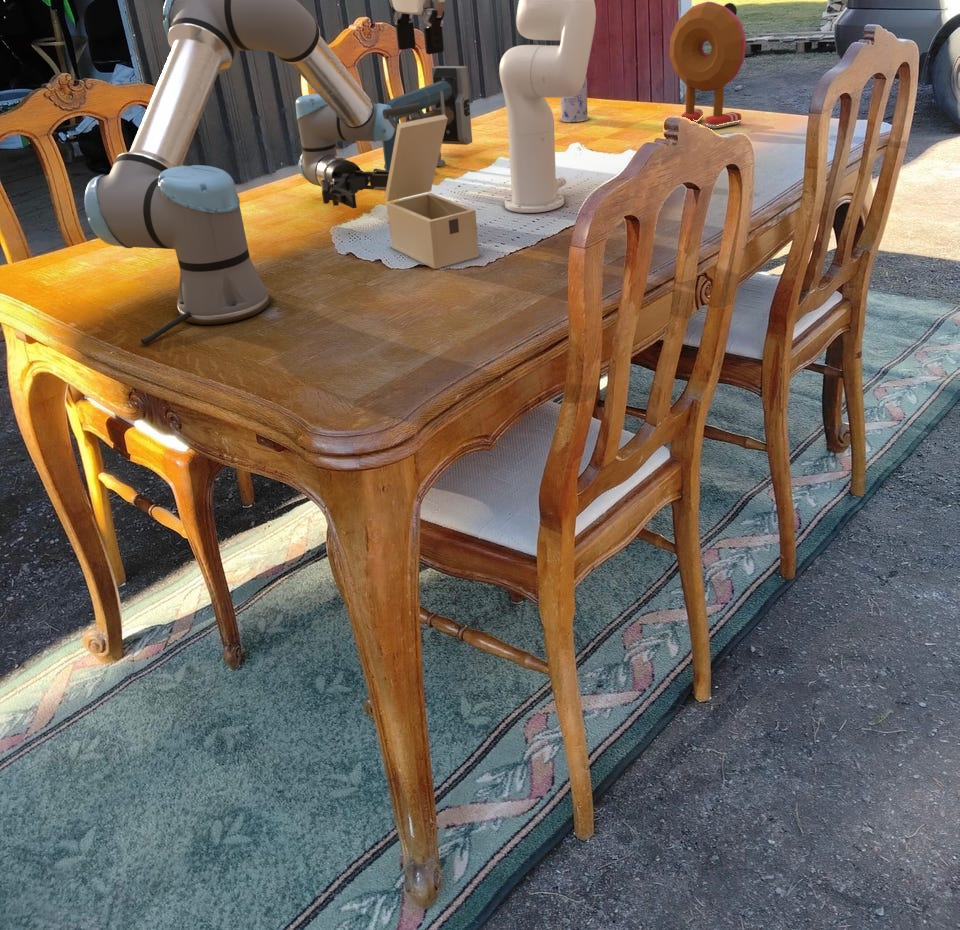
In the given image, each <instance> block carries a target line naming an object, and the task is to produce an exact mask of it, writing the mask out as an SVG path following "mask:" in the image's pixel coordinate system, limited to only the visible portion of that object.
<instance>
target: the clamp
mask: <svg viewBox="0 0 960 930" xmlns="http://www.w3.org/2000/svg"><path fill="white" fill-rule="evenodd" d="M431 76H432V83H431V84H428V85H425V86H423V87H420V88H418V89H414V90H413V91H410V92H407V93H405V94H401V95H398V96H396V97H394V98H391V99H389V100H388V101H387V102H385V104H386V105H389V106H390V107H391V108H395V107H400V106H405V105H410V104H416V103H420V104H421V107H422V110H425V112H424V114H425V115H426V117H427V118H429V117H434V116H439V115H445V116H446V117H447V124H446V128H445V132H444V137H443V141H442V145H463V146H468V145H470V144H472V143H473V132H472V131H473V130H472V119H471V107H470V105H471V104H470V93H469V91H470V90H469V79H468V67H467V65H436V66H433V67H431ZM430 108H431V109H430ZM410 116H411V115H406V116H401V117H396V118H395V122H396V123H397V124H399V123H400V119H402V118H405V122H409V121H414V120H419V119H422V118H421V117H420V115H419V114H418V115H417V116H415V117H413V118H412V117H411V118H410ZM395 137H396V130H394V134H393V136H392V137H391V139H389V140H387V141H381V143H382V144H381V145H382V150H383V151H382V152H383V160H384V166H383V168H384V170H388V171H390V165H391V159H392V154H393V148H394V143H395ZM441 152H442V151H441V150H440V154H439V158H438V163H437V167H442V166H444V165H446V163H447V162H446V160H444V159H442V153H441ZM374 189H375V190H386V187H375V188H374ZM374 189H373V190H374Z"/></svg>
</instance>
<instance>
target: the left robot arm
mask: <svg viewBox="0 0 960 930" xmlns="http://www.w3.org/2000/svg"><path fill="white" fill-rule="evenodd" d="M162 15H163V16H164V18H165V19H164V20H163V21H162V24H163V28H164V32H165V35H166V37H167V42H168V45H169V47H170V49H171V50H170V52H169V54H168V56H167V59H166V62H165V64H164V66H163V69H162V71H161V74H160V77H159V78H158V81H157V83H156V86H155V88H154V91H153V93H152V96H151V98H150V101H149V102H148V105H147V108H146V111H145V113H144V115H143V118H142V120H141V123H140V125H139V127H138V130H137V132H136V135H135V137H134V140H133V141H132V145H131V147H130V150H129V151H126V152H122V153H120V154H119V155H117V156H116V158H115V160H114V162H113V164H112V167H111V170H110V171H109V174H99V175H98V176H95V177H93V178H92V179H90V181H89V182H88V183H87V186H86V187H85V188H86V189H85V192H84V209H85V214H86V216H87V222H88V224H89V226H90V228H91V230H92V232H93V233H94V234H95V236H97V237H98V239H100V240H101V241H102V242H104V243H105V244H107V245H110V246H113V247H122V248H124V249H133V248H143V249H161V250H175V254H176V258H177V262H178V266H179V283H178V294H177V310H178V314H179V316H178V317H175V318H174V319H172V320H171V321H170V322H167V323H166V324H165V325H163V326H162V327H160V328H159V329H157V330H156V331H154V332H152V333H151V334H149V335H147V336H146V337H143V338H141V339H140V343H141V344H142V345H143V346H145V345H146V344H149V343H150V342H153V341H154V340H156V339H157V338H159V337H160V336H162V335H164V334H165V333H166V332H168V331H170V330H171V329H173V328H174V327H176V326H178V325H179V324H181V323H183V322H186V323H189V324H193V325H202V326H203V325H204V326H205V325H206V326H210V325H222V324H230V323H233V322H239V321H241V320H245V319H248V318H251V317H253V316H256V315H258V314H260V312H263V311H264V310H265V309H266V308H267V307H268V306H269V305H270V296H269V291H268V289H267V287H266V284H265V283H264V282H263V280H262V278H261V276H260V274H259V271H258V270H257V269H256V267H255V265H254V264H253V262H252V260H251V257H250V251H249V246H248V241H247V240H248V239H247V236H246V231H245V226H244V225H245V224H244V220H243V216H242V211H241V206H240V203H241V201H240V200H241V199H240V196H239V194H238V193H237V188H236V184H235V181H234V179H233V178H232V176H231V174H230V173H228V172H227V171H225V170H224V169H221V168H218V167H216V166H215V167H214V166H210V165H200V164H192V165H184V162H185V159H186V157H187V154H188V151H189V149H190V146H191V144H192V141H193V139H194V136H195V133H196V132H197V128H198V126H199V123H200V121H201V118H202V115H203V113H204V110H205V108H206V105H207V103H208V100H209V97H210V96H211V92H212V90H213V87H214V84H215V82H216V80H217V78H218V77H217V76H218V74H221V73H224V72H226V71H227V70H229V69H230V67H231V66H232V64H233V61H234V59H235V55H236V53H237V52H239V51H240V52H241V51H265V52H270V53H273V54H274V55H275V56H276V57H277V58H278V59H279V60H280V61H282V62H283V63H287V64H291V65H292V67H294V69H295V70H296V71H297V72H298V74H300V75H301V77H302V78H303V79H304V80H305V81H306V83H308V84H309V86H310V87H311V88H312V89H313V90H314V92H316V93H311V94H310V93H309V94H305V95H301V96H298V97H297V99H296V100H295V113H296V121H297V126H298V132H299V138H300V144H301V155H300V156H299V159H298V163H297V167H298V171H299V173H300V176H302V178H304V179H305V180H306V181H307V182H309V183H310V184H312V185H313V186H318V187H320V188H321V196H322V202H323V204H324V205H327V204H329V203H330V201H332V206H333V207H338V206H340V204H343V205H344V206H347V207H349V208H351V209H357V208H358V206H357V200H356V199H357V198H356V194H357V193H358V192H359V191H364V190H374V188H375V187H387V182H388V176H389V171H388V170H386V169H380V168H374V169H373V170H372V171H363V170H362V169H361V168H360V167H359V165H358V164H356V163H355V162H353V161H351V160H348V159H346V158H343V157H340V156H338V154H337V144H336V142H373V143H376V142H382V141H387V140H389V139H391V137H392V136H393V134H394V130H395V129H394V128H393V126H392V125H391V123H390V122H389V120H388V119H384V117H383V110H384V109H389V108H391V107H390V106H389V105H386V103H380V102H379V103H374V102H373V101H372V99H371V98H370V97H369V96H368V94H367V93H366V92H365V91H364V89H363V88H362V87H361V85H360V84H359V83H358V81H357V80H356V79H355V78H354V76H353V75H352V74H351V73H350V71H349V70H348V69H347V67H346V66H345V65H344V64H343V62H342V61H341V60H340V59H339V57H338V56H337V55H336V54H335V52H334V51H333V49H331V48H330V46H329V45H328V43H327V42H326V41H325V40H324V38H323V37H322V36H321V28H320V25H319V24H318V22H317V21H316V19H315V18H314V17H313V16H312V14H311V13H310V12H309V11H308V10H307V9H306V8H305V7H304V6H303V5H302V4H301V3H300V2H299V1H297V0H165V1H164V5H163V10H162ZM393 119H394V120H395V118H393Z"/></svg>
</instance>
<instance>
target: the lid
mask: <svg viewBox="0 0 960 930" xmlns="http://www.w3.org/2000/svg"><path fill="white" fill-rule="evenodd" d="M424 113H425V112H424V111H423V109H422V107H421V104H420V103H416V104H410V105H405V106H400V107H395V108H389V109H384V110H383V117H384V119H388V120H389V122H390V123H391V125H392V126H393V128H394V129H395V130H396V137H395V143H394V148H393V154H392V159H391V165H390V171H389V176H388V182H387V187H386V189H385V194H384V198H385V200H386V202H393V201H397V200H402V199H406V198H410V197H414V196H418V195H423V194H427V193H431V192H432V189H433V184H434V181H435V180H434V179H435V176H436V171H437V167H438V166H437V163H438V158H439V154H440V150H441V149H442V145H443V144H442V141H443V137H444V132H445V128H446V124H447V117H446V116H445V115H439V116H434V117H429V118H427V117H426V115H425V114H424ZM416 114H417V115H418V116H419V115H420V117H421V118H422V119H419V120H414V121H409V122H406V121H405V122H399V124H397V123H396V122H395V120H394V119H393V118H396V117H401V116H405V117H406V115H410V116H411V115H416Z"/></svg>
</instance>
